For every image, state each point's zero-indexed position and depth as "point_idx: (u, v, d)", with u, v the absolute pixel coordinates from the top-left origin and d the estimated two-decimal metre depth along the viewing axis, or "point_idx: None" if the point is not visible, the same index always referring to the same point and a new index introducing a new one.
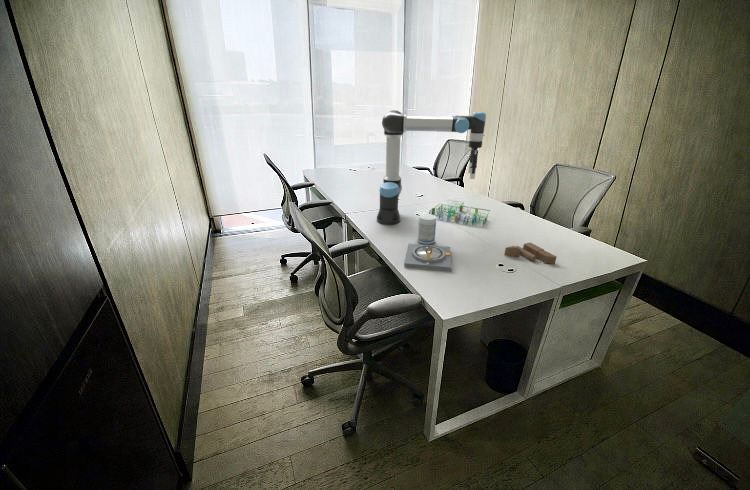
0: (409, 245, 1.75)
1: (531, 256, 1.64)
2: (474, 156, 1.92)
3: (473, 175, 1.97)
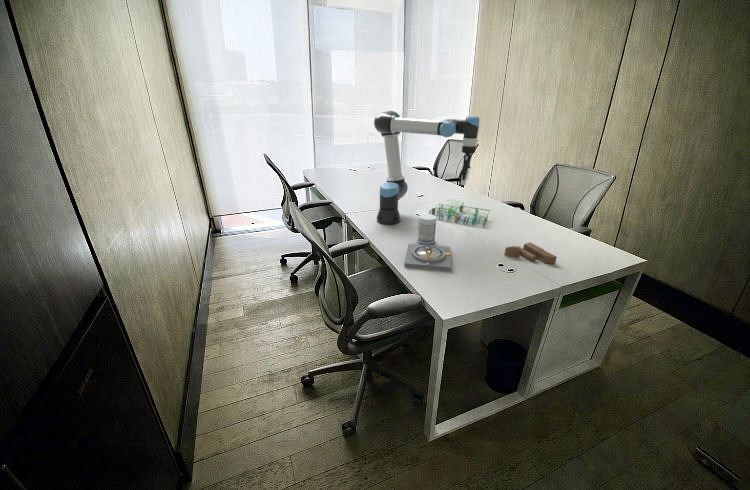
0: (409, 245, 1.75)
1: (531, 256, 1.64)
2: (465, 162, 1.85)
3: (464, 181, 1.90)
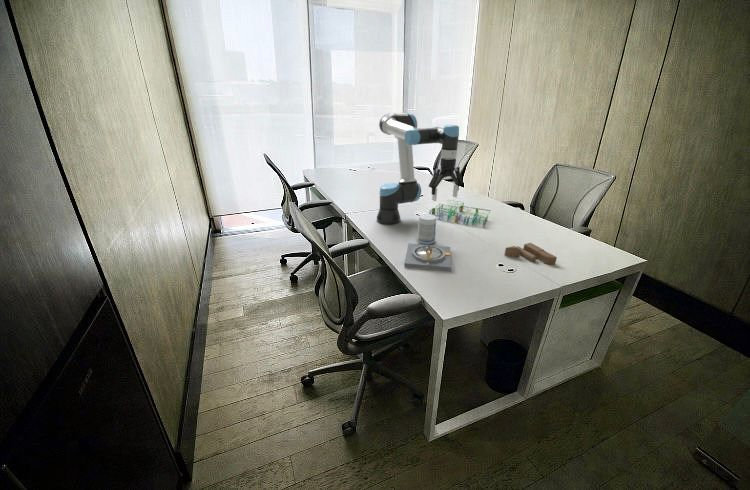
0: (409, 245, 1.75)
1: (531, 256, 1.64)
2: (434, 175, 1.66)
3: (434, 196, 1.71)
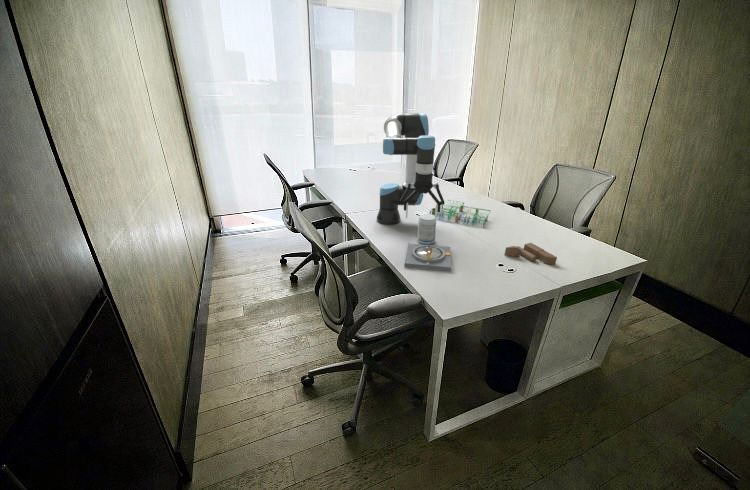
0: (409, 245, 1.75)
1: (531, 256, 1.64)
2: (406, 189, 1.51)
3: None
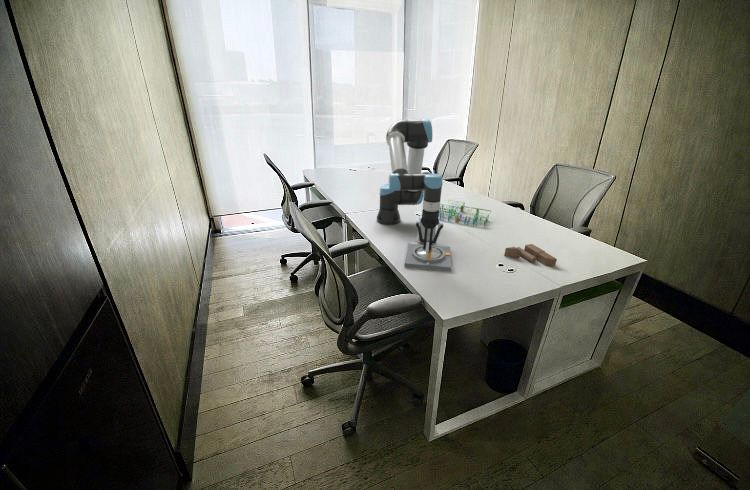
0: (409, 245, 1.75)
1: (531, 257, 1.63)
2: None
3: (425, 252, 1.58)
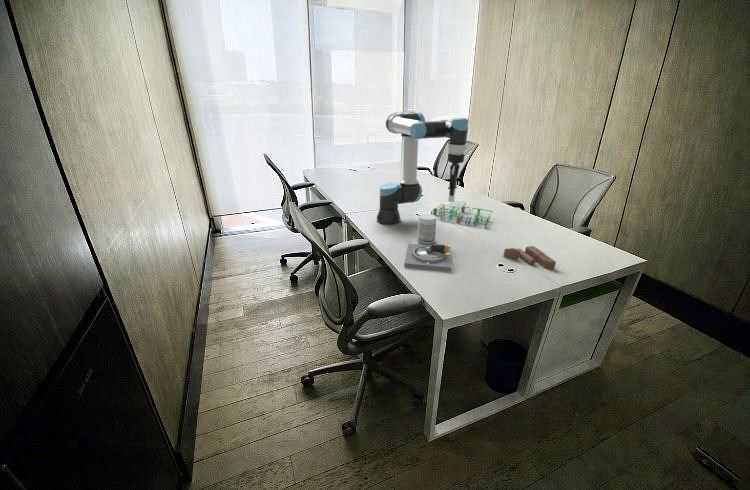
0: (409, 245, 1.75)
1: (529, 259, 1.61)
2: (451, 177, 1.56)
3: (452, 197, 1.64)
